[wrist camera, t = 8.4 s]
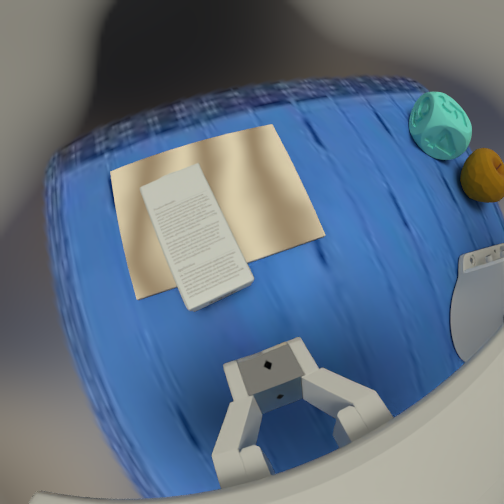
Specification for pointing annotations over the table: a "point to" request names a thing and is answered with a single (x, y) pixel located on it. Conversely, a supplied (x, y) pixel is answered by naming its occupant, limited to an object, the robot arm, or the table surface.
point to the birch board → (219, 201)
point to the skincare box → (195, 238)
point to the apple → (483, 176)
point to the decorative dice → (440, 126)
